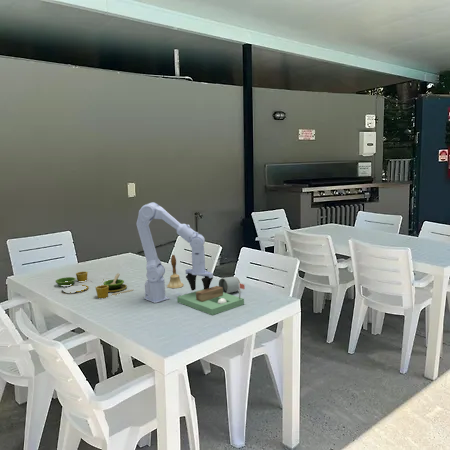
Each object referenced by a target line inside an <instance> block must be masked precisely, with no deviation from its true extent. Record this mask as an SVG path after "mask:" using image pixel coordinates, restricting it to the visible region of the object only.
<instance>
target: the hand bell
mask: <svg viewBox="0 0 450 450" xmlns="http://www.w3.org/2000/svg"><path fill="white" fill-rule="evenodd" d="M170 263H171V267H172V274H171V275H170V277H169V278H170V279H169V282H168V283H167V286H166V287H167V288H169V289H181V288H182V287H184V283H183V282H182V281H181V278H180V275H179V274H177V269H176V267H177V258H176V256H175V254H172V255H171V259H170Z"/></svg>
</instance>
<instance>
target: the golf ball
mask: <svg viewBox="0 0 450 450" xmlns="http://www.w3.org/2000/svg"><path fill="white" fill-rule="evenodd" d="M226 302H227V301H226V300H225V299H224V298H221V299H219V300H218V304H223V303H226Z"/></svg>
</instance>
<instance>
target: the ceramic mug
mask: <svg viewBox="0 0 450 450" xmlns="http://www.w3.org/2000/svg"><path fill="white" fill-rule="evenodd" d="M239 283H240V284H241V281H240V279H239V278H238V277H236V276H227V277H221V278H220V279H219V281H218V286H219V287H222V288H223V292H224V293H227V294H233V293H236V292H239Z"/></svg>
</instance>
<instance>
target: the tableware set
mask: <svg viewBox="0 0 450 450" xmlns="http://www.w3.org/2000/svg"><path fill="white" fill-rule="evenodd" d="M75 275H76V277H71V276H69V277H66V276H65V277H60V278H58V279H56V280H55V283H56V284H57V285H58V286H59V285H70V284H73V285H74V283H75V281H76V280H77V282H78V281H85V280H87V279H88V271H79V272H78V271H77V272H76V273H75ZM119 277H120V273H119V272H117V273H116V274H115V276H114V278H113V279H110V280H108V281H104V282H102V283H103V284H102V285H101V286H100V285H97V287H96V286H95V291H96V296H97V298H98V299H99V298H103V299H107V298H108V297H109V293H108V292H113V293H111V294H112V295H115V296H117V294H118V295H120V293H121V294H125V293H129V292H133V291H134V289H128V290H126V289H127V287H128V286H127V285H126V283H125V280H123V279H119ZM65 281H68V282H65ZM87 281H88V280H87ZM124 283H125V284H124ZM81 285H82V286H86V287H87V288H86V289H84V290H86V291H87V290H89V285H86V284H81ZM84 290H81V291H84ZM76 292H80V291H76ZM84 292H85V291H84ZM70 293H71V292H70ZM80 293H81V292H80ZM112 295H111V296H112ZM106 297H107V298H106Z"/></svg>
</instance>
